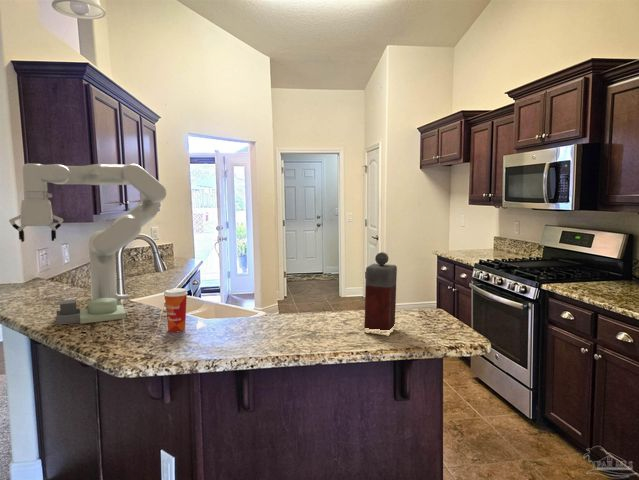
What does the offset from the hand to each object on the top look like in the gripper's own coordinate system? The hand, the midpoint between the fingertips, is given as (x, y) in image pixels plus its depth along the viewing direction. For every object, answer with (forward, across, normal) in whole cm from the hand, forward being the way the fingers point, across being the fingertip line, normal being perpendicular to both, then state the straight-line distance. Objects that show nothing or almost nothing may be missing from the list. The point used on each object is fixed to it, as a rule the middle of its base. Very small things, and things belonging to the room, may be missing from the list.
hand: (38, 241), depth 160 cm
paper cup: (+28, -42, +46) cm, 68 cm away
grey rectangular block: (+28, -9, +16) cm, 34 cm away
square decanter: (+28, -105, +79) cm, 135 cm away
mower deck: (+28, -17, +16) cm, 37 cm away
